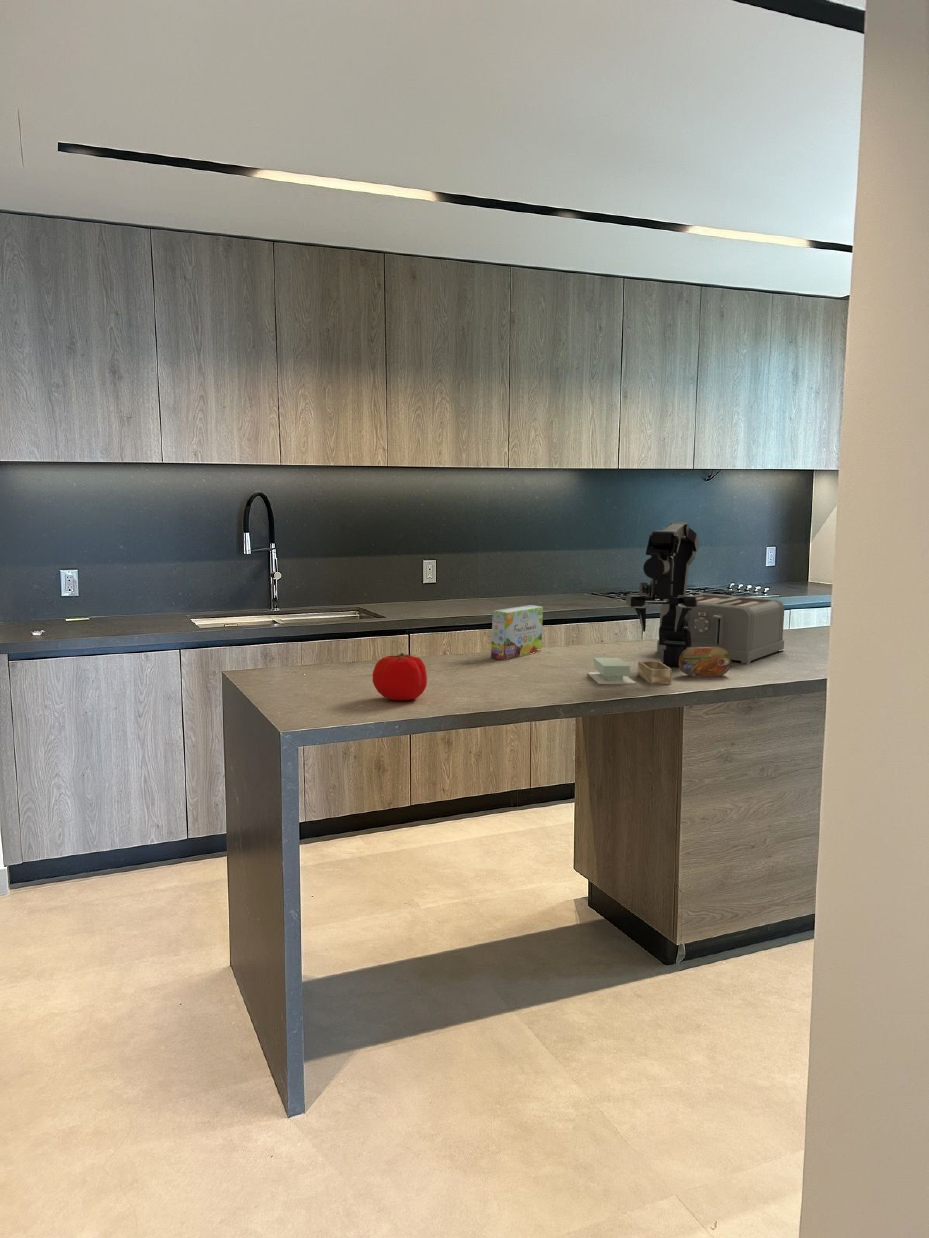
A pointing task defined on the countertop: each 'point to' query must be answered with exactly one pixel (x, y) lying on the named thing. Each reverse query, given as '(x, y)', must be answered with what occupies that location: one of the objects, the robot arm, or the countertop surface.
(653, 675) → the crate
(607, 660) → the pale green block
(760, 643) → the toaster
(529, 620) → the snack box
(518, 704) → the countertop surface
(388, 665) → the tomato
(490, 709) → the countertop surface
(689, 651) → the tin
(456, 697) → the countertop surface
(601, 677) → the mat
